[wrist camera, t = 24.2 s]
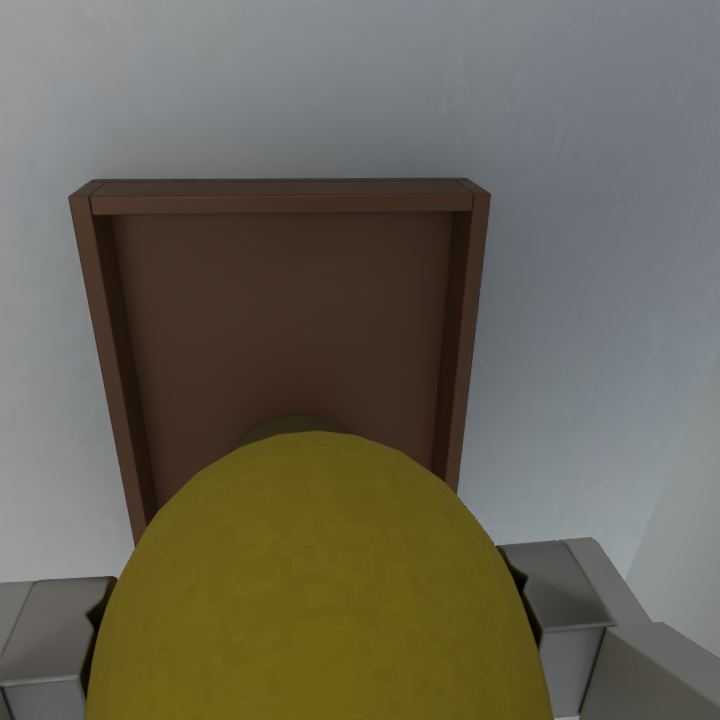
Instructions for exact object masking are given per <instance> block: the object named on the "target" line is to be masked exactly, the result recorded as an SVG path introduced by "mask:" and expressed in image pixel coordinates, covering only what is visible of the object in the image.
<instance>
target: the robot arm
mask: <svg viewBox="0 0 720 720" xmlns="http://www.w3.org/2000/svg"><path fill="white" fill-rule="evenodd" d="M496 548H497V549H498V551H499V553H500V554H501V556H502V558H503V560H504V562H505V564H506V566H507V568H508V570H509V572H510V574H511V576H512V578H513V580H514V583H515V585H516V588H517V590H518V593H519V595H520V598H521V600H522V603H523V606H524V609H525V612H526V615H527V618H528V621H529V624H530V627H531V630H532V633H533V636H534V639H535V642H536V645H537V649H538V652H539V655H540V658H541V662H542V665H543V669H544V674H545V678H546V682H547V686H548V690H549V695H550V700H551V706H552V712H553V717H554V718H561V717H572V716H580V717H579V720H720V658H718V657H717V656H715V655H714V654H712V653H710V652H709V651H707V650H705V649H704V648H702V647H701V646H699V645H698V644H696V643H695V642H693V641H692V640H690V639H688V638H687V637H685V636H684V635H682V634H680V633H679V632H677V631H676V630H674V629H673V628H671V627H669V626H668V625H666V624H665V623H663V622H654V623H653V622H652V621H651V620H650V618H649V617H648V615H647V614H646V612H645V611H644V609H643V608H642V606H641V605H640V604H639V602H638V600H637V599H636V598H635V596H634V595H633V593H632V592H631V590H630V589H629V587H628V586H627V584H626V583H625V581H624V580H623V579H622V577H621V576H620V574H619V573H618V571H617V570H616V568H615V567H614V565H613V564H612V562H611V561H610V559H609V558H608V557H607V555H606V554H605V552H604V551H603V549H602V548H601V546H600V545H599V543H598V542H597V541H596V540H594V539H593V538H591V537H587V538H576V539H565V540H559V541H556V540H554V541H542V542H531V543H520V544H508V545H497V546H496ZM117 581H118V580H117V578H116V577H113V576H104V577H86V578H67V579H49V580H39V581H26V582H6V583H0V720H84V713H85V706H86V699H87V692H88V686H89V679H90V672H91V666H92V659H93V655H94V650H95V646H96V641H97V637H98V632H99V629H100V626H101V622H102V619H103V616H104V613H105V610H106V607H107V604H108V602H109V599H110V597H111V595H112V592H113V590H114V588H115V585H116V583H117Z"/></svg>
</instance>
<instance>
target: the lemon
mask: <svg viewBox="0 0 720 720" xmlns="http://www.w3.org/2000/svg"><path fill="white" fill-rule="evenodd" d="M84 720H554V717H553V712H552V706H551V700H550V695H549V690H548V686H547V682H546V678H545V674H544V669H543V665H542V662H541V658H540V655H539V652H538V649H537V645H536V642H535V639H534V636H533V633H532V630H531V627H530V624H529V621H528V618H527V615H526V612H525V609H524V606H523V603H522V600H521V598H520V595H519V593H518V590H517V588H516V585H515V583H514V580H513V578H512V576H511V574H510V572H509V570H508V568H507V566H506V564H505V562H504V560H503V558H502V556H501V554H500V553H499V551H498V549H497V548H496V546H495V545H494V543H493V541H492V540H491V538H490V537H489V535H488V534H487V533H486V532H485V530H484V529H483V528H482V526H481V525H480V524H479V523H478V521H477V520H476V519H475V517H474V516H473V515H472V514H471V512H470V511H469V510H468V509H467V507H466V506H465V505H464V504H463V502H462V501H461V500H460V499H459V497H458V496H457V495H456V494H455V492H454V491H453V490H452V489H451V488H450V487H449V486H448V485H447V484H446V483H445V482H444V481H443V480H441V479H440V478H439V477H437V476H436V475H434V474H433V473H431V472H430V471H429V470H427V469H426V468H424V467H423V466H421V465H420V464H418V463H417V462H415V461H414V460H412V459H411V458H410V457H408V456H407V455H405V454H404V453H402V452H401V451H399V450H396V449H394V448H391V447H388V446H385V445H382V444H380V443H377V442H374V441H371V440H368V439H365V438H362V437H360V436H357V435H351V434H342V433H333V432H325V431H309V432H299V433H289V434H279V435H275V436H272V437H269V438H266V439H263V440H260V441H257V442H254V443H251V444H248V445H245V446H241V447H240V448H238V449H236V450H235V451H233V452H231V453H230V454H228V455H226V456H224V457H223V458H221V459H219V460H218V461H216V462H214V463H213V464H211V465H209V466H208V467H206V468H204V469H203V470H201V471H199V472H198V473H197V474H196V475H195V476H194V477H193V478H192V479H191V480H190V481H189V482H188V483H187V484H186V485H184V486H183V487H182V488H181V489H180V490H179V491H178V492H177V493H176V494H175V495H174V496H173V497H172V498H171V499H170V500H169V501H168V502H167V503H166V504H165V505H164V506H163V507H162V508H161V509H160V510H159V511H158V512H157V514H156V515H155V517H154V518H153V519H152V521H151V522H150V524H149V525H148V526H147V528H146V530H145V532H144V533H143V535H142V537H141V539H140V541H139V543H138V544H137V546H136V548H135V550H134V552H133V553H132V555H131V557H130V559H129V561H128V562H127V564H126V566H125V568H124V570H123V572H122V574H121V575H120V577H119V579H118V581H117V583H116V585H115V588H114V590H113V592H112V595H111V597H110V599H109V602H108V604H107V607H106V610H105V613H104V616H103V619H102V622H101V626H100V629H99V632H98V637H97V641H96V646H95V650H94V655H93V659H92V666H91V672H90V679H89V686H88V692H87V699H86V706H85V713H84Z"/></svg>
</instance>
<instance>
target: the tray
mask: <svg viewBox="0 0 720 720" xmlns="http://www.w3.org/2000/svg"><path fill="white" fill-rule="evenodd" d="M490 198H491V194H490V193H489V192H488V191H486V190H484V189H483V188H481V187H480V186H478V185H477V184H475V183H473V182H472V181H470V180H469V179H467V178H342V179H98V180H91V181H90V182H88V183H87V184H85V185H84V186H82V187H81V188H80V189H78V190H77V191H75V192H74V193H73V194H71V195H70V196H69V197H68V199H69V204H70V209H71V214H72V219H73V225H74V230H75V235H76V240H77V246H78V251H79V256H80V261H81V267H82V272H83V277H84V282H85V288H86V293H87V298H88V303H89V309H90V314H91V319H92V324H93V330H94V335H95V340H96V345H97V351H98V356H99V361H100V366H101V372H102V377H103V382H104V387H105V393H106V398H107V403H108V408H109V413H110V419H111V424H112V429H113V434H114V440H115V445H116V450H117V455H118V461H119V466H120V471H121V476H122V482H123V487H124V492H125V497H126V503H127V508H128V513H129V518H130V524H131V529H132V534H133V539H134V545H135V548H136V546H137V544H138V543H139V541H140V539H141V537H142V535H143V533H144V532H145V530H146V528H147V526H148V525H149V524H150V522H151V521H152V519H153V518H154V517H155V515H156V514H157V512H158V511H159V510H160V509H161V508H162V507H163V506H164V505H165V504H166V503H167V502H168V501H169V500H170V499H171V498H172V497H173V496H174V495H175V494H176V493H177V492H178V491H179V490H180V489H181V488H182V487H183V486H184V485H186V484H187V483H188V482H189V481H190V480H191V479H192V478H193V477H194V476H195V475H196V474H197V473H198V472H199V471H201V470H203V469H204V468H206V467H208V466H209V465H211V464H213V463H214V462H216V461H218V460H219V459H221V458H223V457H224V456H226V455H228V454H230V453H231V452H232V450H233V448H234V446H235V444H236V443H237V442H238V441H239V440H240V439H241V438H242V437H243V436H244V435H245V434H246V433H247V432H248V431H250V430H251V429H253V428H255V427H257V426H259V425H260V424H262V423H264V422H266V421H268V420H270V419H275V418H280V417H285V416H290V415H301V416H315V417H318V418H321V419H324V420H326V421H329V422H332V423H335V424H337V425H338V426H339V427H340V428H342V429H343V430H344V431H346V432H347V433H348V434H351V435H357V436H360V437H362V438H365V439H368V440H371V441H374V442H377V443H380V444H382V445H385V446H388V447H391V448H394V449H396V450H399V451H401V452H402V453H404V454H405V455H407V456H408V457H410V458H411V459H412V460H414V461H415V462H417V463H418V464H420V465H421V466H423V467H424V468H426V469H427V470H429V471H430V472H431V473H433V474H434V475H436V476H437V477H439V478H440V479H441V480H443V481H444V482H445V483H446V484H447V485H448V486H449V487H450V488H451V489H452V490H453V491H454V492H455V494H456V495H457V490H458V481H459V472H460V463H461V454H462V445H463V437H464V428H465V419H466V410H467V401H468V393H469V384H470V375H471V366H472V357H473V348H474V340H475V331H476V322H477V313H478V304H479V296H480V287H481V278H482V269H483V260H484V251H485V243H486V234H487V225H488V216H489V207H490Z"/></svg>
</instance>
